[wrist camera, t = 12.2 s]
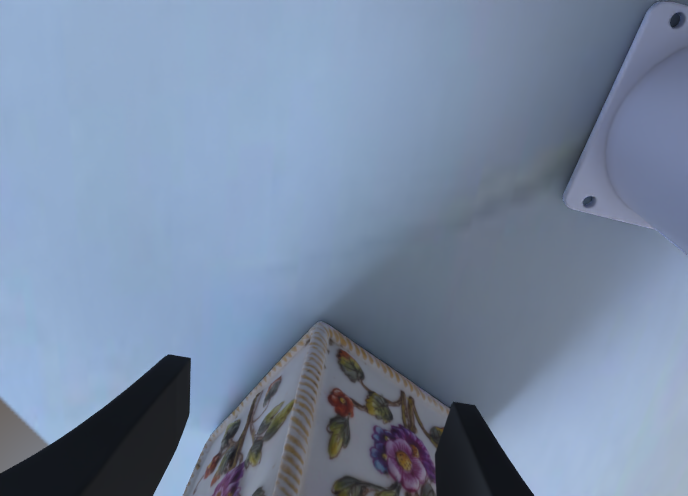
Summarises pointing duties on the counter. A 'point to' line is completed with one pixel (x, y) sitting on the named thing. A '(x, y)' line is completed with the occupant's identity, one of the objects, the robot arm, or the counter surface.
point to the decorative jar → (325, 429)
